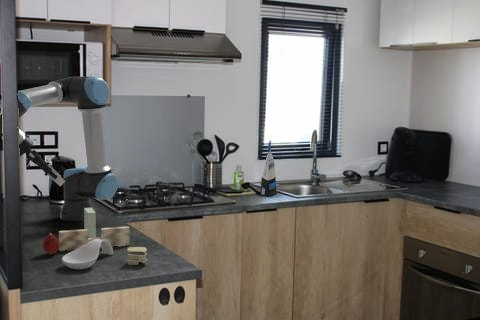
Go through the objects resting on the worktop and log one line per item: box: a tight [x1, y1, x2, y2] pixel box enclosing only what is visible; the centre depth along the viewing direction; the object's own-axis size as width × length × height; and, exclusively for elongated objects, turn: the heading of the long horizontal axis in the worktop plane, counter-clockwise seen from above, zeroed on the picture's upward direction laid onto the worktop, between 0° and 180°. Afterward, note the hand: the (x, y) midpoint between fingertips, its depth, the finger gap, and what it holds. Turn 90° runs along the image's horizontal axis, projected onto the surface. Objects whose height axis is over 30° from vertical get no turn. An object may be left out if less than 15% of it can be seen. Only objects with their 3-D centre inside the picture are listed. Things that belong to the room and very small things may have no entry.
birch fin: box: [58, 225, 131, 252], centre depth 240 cm, size 26×2×7 cm, turn 112°
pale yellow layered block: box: [126, 246, 148, 266], centre depth 220 cm, size 10×9×6 cm
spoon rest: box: [61, 239, 114, 271], centre depth 220 cm, size 24×12×7 cm, turn 161°
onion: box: [42, 232, 60, 256], centre depth 228 cm, size 6×6×8 cm
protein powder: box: [259, 139, 278, 198], centre depth 362 cm, size 10×24×30 cm, turn 174°
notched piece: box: [83, 207, 97, 238], centre depth 250 cm, size 10×3×12 cm, turn 22°
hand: (60, 181), depth 244 cm, fingers open, 13 cm apart
